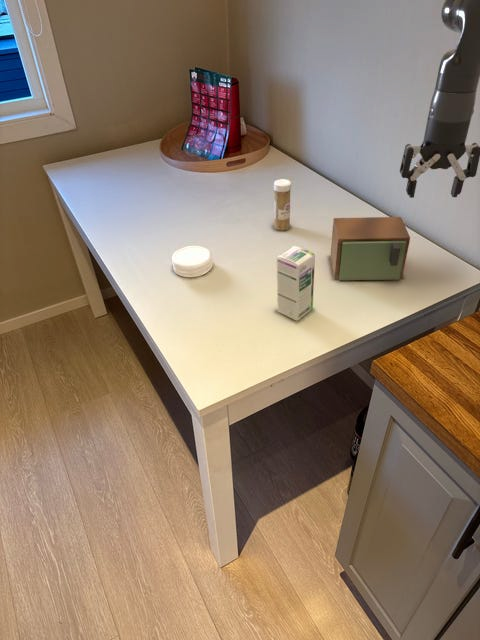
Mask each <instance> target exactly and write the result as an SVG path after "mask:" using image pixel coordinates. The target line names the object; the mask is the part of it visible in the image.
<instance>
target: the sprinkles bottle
mask: <svg viewBox="0 0 480 640" xmlns="http://www.w3.org/2000/svg"><path fill="white" fill-rule="evenodd" d="M273 182H274V183H273V191H274V198H273V199H274V201H273V210H274V211H273V217H274V225H273V227H274V229H275V230H277V231H287V230H289V229H290V228H291V223H290V222H291V190H292V182H291V181H290V180H289V179H284V178H281V179H277V180H275V181H273Z"/></svg>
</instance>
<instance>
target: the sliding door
mask: <svg viewBox="0 0 480 640" xmlns="http://www.w3.org/2000/svg"><path fill="white" fill-rule="evenodd" d="M405 248H406V241H368V242H343V244H342V254H341V263H340V273H339V279H338V280H339V281H379V280H380V281H381V280H383V281H384V280H385V281H386V280H390V281H391V280H392V281H393V280H400V279H401V278H400V273H401V268H402V263H403V258H404V253H405Z"/></svg>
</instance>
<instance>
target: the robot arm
mask: <svg viewBox="0 0 480 640" xmlns="http://www.w3.org/2000/svg"><path fill="white" fill-rule="evenodd" d="M440 15H441V20H442V23H443V25H444V26H445V28H446V29H448V30H449V31H452V32H455V33H459V34H460V36H459V39H458V42H457V44H456V47H455V48H454V49H450V50H448V51H446V52H445V53H444V54H443V55H442V57H441V59H440V63H439V66H438V72H437V76H436V82H435V86H434V91H433V94H432V97H431V100H430V104H429V109H428V114H427V120H426V125H425V130H424V136H423V141H422V142H421V145H418V146H417V145H412V144H410V143H407V144H405V146H404V150H403V154H402V159H401V163H400V167H399V173H400V176H401V178H403V179H407V182H406V189H405V192H406V194H407V196H408V197H409V198H410V199H413V198H415V194H416V189H417V184H418V180H417V179H418V178H419V177H420V176H422V174H425V173H426V172H427V171H428V170H429V169H431V170H438V169H442V170H449V168H452V169H453V171H454V173H455V175H456V176H454V178H453V182H452V185H451V190H450V195H451V197H452V198H457V197H458V195H461V194H462V190H463V186H464V182H465V180H466V179H467V178H474V177H476V176H477V173H478V167H479V162H480V146H479V144H478V143H477V142H473V143H471V144H470V145H466V141H467V137H468V133H469V129H470V125H471V121H472V117H473V116H474V112H475V105H476V101H477V99H476V98H477V91H478V87H479V83H480V0H444V2H443V5H442V8H441V14H440ZM465 153H466V155H467V158H468V160H467V164H466V168H465V169H462V166H461V165H460V163H459V160H460V159H461V158H462V157H463V156H464V155H465ZM418 154H420V156H421V157H420V158H419V159H418V160H417V162H416V163H415V165H414V166H413V167H412V168H411V164H412V160H413V159H414V158H416V156H417V155H418ZM410 168H411V169H410Z"/></svg>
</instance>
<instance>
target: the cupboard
mask: <svg viewBox="0 0 480 640" xmlns="http://www.w3.org/2000/svg"><path fill="white" fill-rule="evenodd" d="M332 221H333V222H332V232H331V242H330V243H331V245H330V254H329V255H330V256H329V257H330V258H329V259H330V263H331V268H332V274H333V279H334V280H339V273H340V263H341V254H342V244H343V242H368V241H406V248H405V253H404V258H403V263H402V268H401V273H400V278H399V279H403V276H404V271H405V266H406V262H407V258H408V251H409V247H410V242H411V236H410V233H409V232H408V229H407V227H406V225H405V223H404V221H403V218H402V217H401V216H377V217H375V216H374V217H372V216H371V217H370V216H369V217H333V220H332Z"/></svg>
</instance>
